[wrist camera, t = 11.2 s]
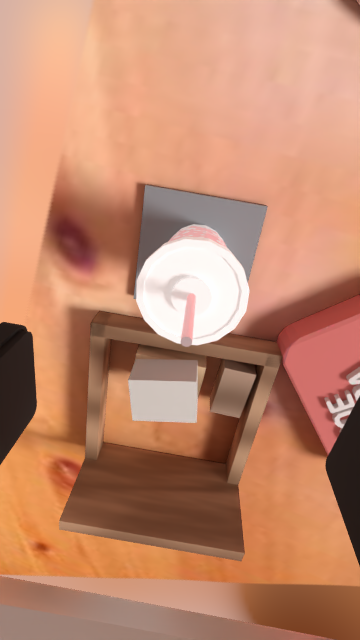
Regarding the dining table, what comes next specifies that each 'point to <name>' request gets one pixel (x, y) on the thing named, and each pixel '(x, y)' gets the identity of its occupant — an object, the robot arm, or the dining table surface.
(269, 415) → the dining table surface
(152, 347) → the block
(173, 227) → the coaster
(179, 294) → the beverage cup
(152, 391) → the offcut top
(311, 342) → the plaque
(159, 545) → the rack
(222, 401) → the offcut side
